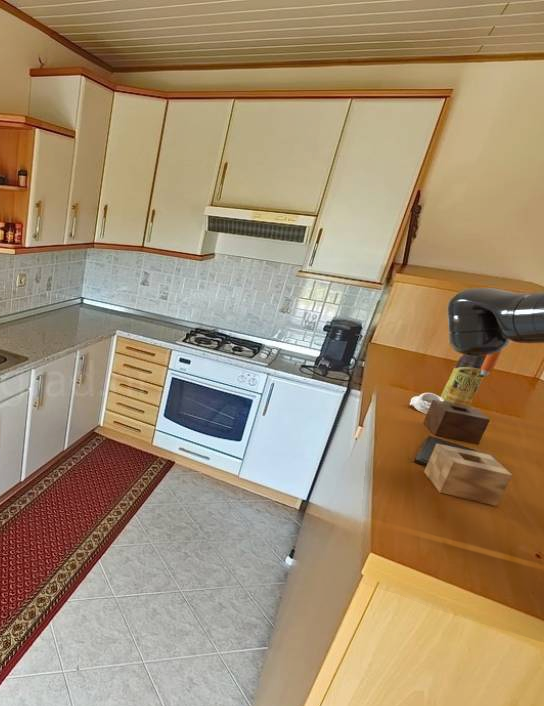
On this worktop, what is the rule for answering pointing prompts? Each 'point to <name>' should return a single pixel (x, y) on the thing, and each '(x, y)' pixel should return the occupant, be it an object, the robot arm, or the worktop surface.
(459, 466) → the stand
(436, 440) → the tablet
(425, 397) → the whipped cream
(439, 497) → the worktop surface
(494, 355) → the orange rod
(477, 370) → the sauce bottle
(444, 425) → the block
